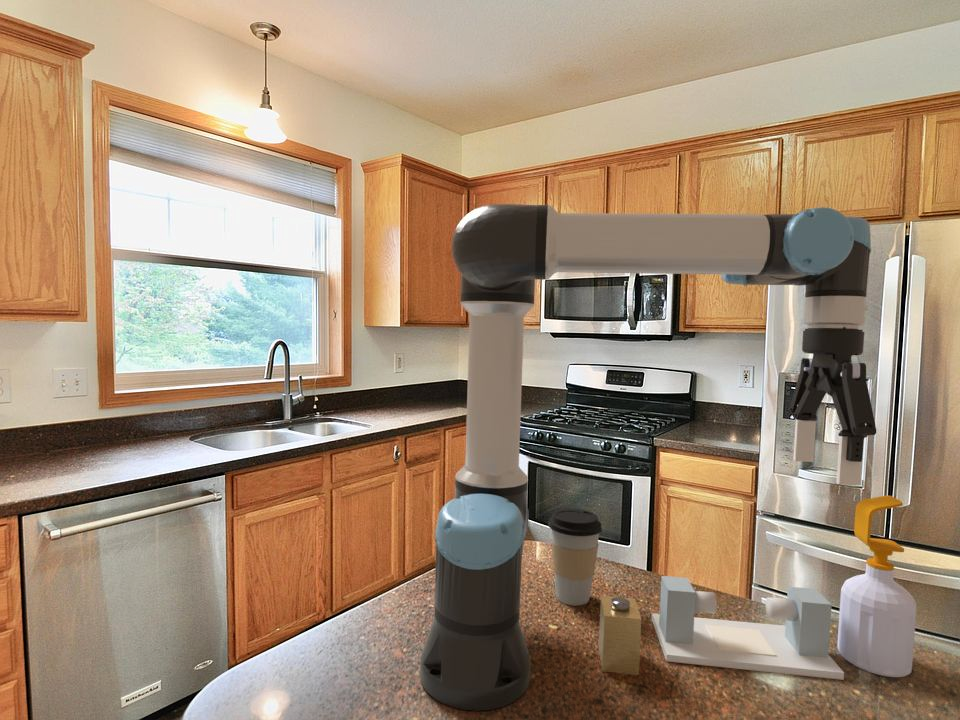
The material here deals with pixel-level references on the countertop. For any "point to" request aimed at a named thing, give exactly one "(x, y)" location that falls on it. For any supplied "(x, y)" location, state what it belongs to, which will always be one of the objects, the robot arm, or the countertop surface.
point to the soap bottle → (877, 605)
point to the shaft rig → (747, 632)
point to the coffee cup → (574, 553)
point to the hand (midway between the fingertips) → (824, 471)
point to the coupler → (619, 635)
